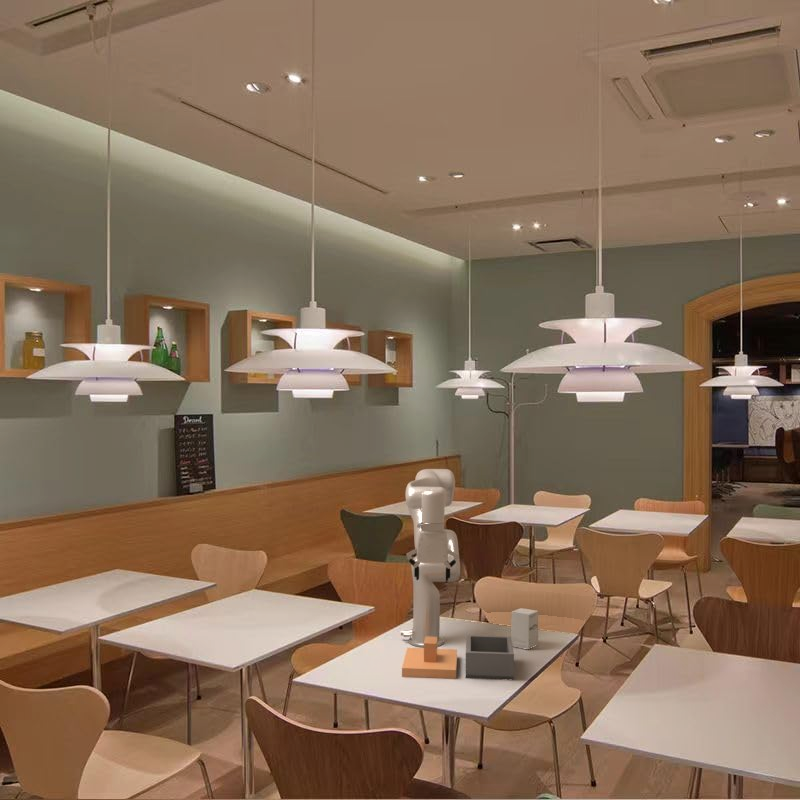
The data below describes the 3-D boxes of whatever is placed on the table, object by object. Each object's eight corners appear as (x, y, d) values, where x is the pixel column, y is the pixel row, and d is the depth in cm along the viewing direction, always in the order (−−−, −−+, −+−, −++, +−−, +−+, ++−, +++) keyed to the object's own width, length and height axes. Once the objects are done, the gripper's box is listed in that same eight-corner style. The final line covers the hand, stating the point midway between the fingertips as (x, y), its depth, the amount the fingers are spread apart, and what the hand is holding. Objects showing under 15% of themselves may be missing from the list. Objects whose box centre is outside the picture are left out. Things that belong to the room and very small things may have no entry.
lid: (401, 676, 260) (402, 648, 260) (407, 655, 282) (407, 630, 282) (455, 678, 259) (456, 650, 259) (457, 657, 281) (457, 631, 281)
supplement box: (528, 650, 289) (528, 614, 289) (510, 646, 294) (510, 611, 294) (538, 645, 295) (538, 610, 295) (520, 642, 300) (520, 607, 300)
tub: (465, 678, 259) (465, 652, 259) (466, 658, 279) (466, 634, 279) (513, 679, 258) (514, 654, 258) (510, 660, 278) (511, 636, 278)
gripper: (405, 528, 268) (404, 581, 268) (458, 530, 266) (458, 583, 266) (407, 525, 276) (407, 576, 276) (459, 526, 274) (459, 578, 274)
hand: (432, 579), depth 271 cm, fingers open, 9 cm apart
